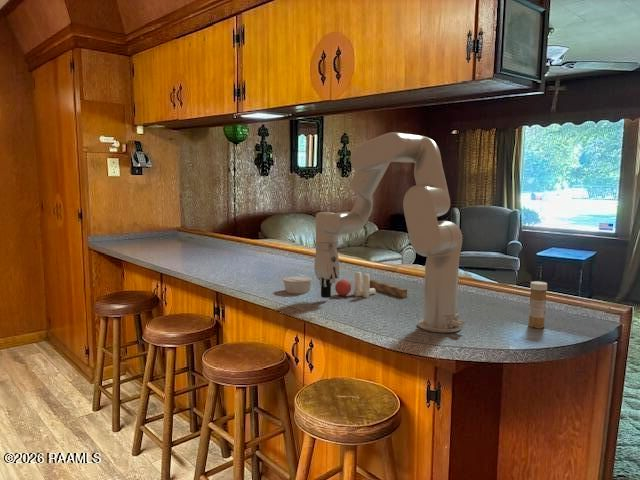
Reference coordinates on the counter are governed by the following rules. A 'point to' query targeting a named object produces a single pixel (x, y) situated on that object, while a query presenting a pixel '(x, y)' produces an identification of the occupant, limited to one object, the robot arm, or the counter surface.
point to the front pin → (360, 292)
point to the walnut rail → (388, 288)
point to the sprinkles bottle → (537, 304)
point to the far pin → (358, 280)
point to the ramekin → (297, 284)
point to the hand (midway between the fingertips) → (325, 296)
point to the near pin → (366, 285)
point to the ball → (343, 287)
